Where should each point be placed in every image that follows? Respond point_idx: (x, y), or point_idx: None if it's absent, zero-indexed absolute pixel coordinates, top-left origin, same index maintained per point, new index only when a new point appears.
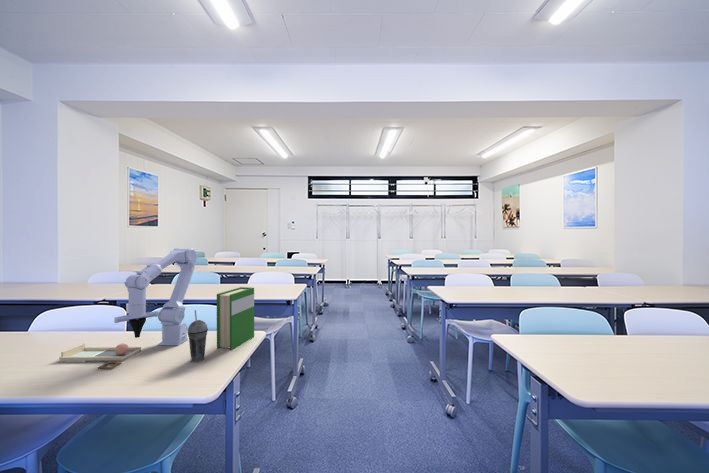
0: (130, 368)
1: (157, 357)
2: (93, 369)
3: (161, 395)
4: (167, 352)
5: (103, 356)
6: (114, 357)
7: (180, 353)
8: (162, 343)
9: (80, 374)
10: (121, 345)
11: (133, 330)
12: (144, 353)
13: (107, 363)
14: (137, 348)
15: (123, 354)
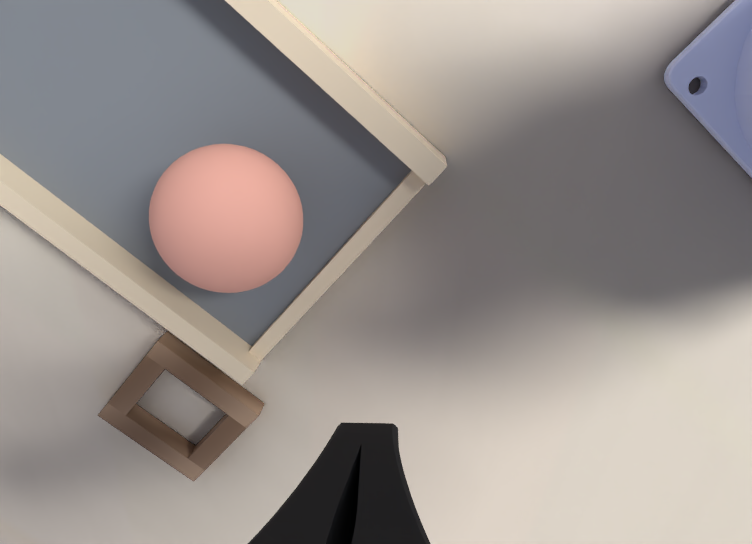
0: None
1: (531, 461)
2: (78, 380)
3: None
4: (646, 400)
5: (82, 118)
6: (188, 343)
7: (720, 502)
8: (732, 82)
9: (16, 417)
10: (205, 279)
11: (292, 500)
12: (462, 271)
13: (155, 379)
14: (408, 163)
15: None
